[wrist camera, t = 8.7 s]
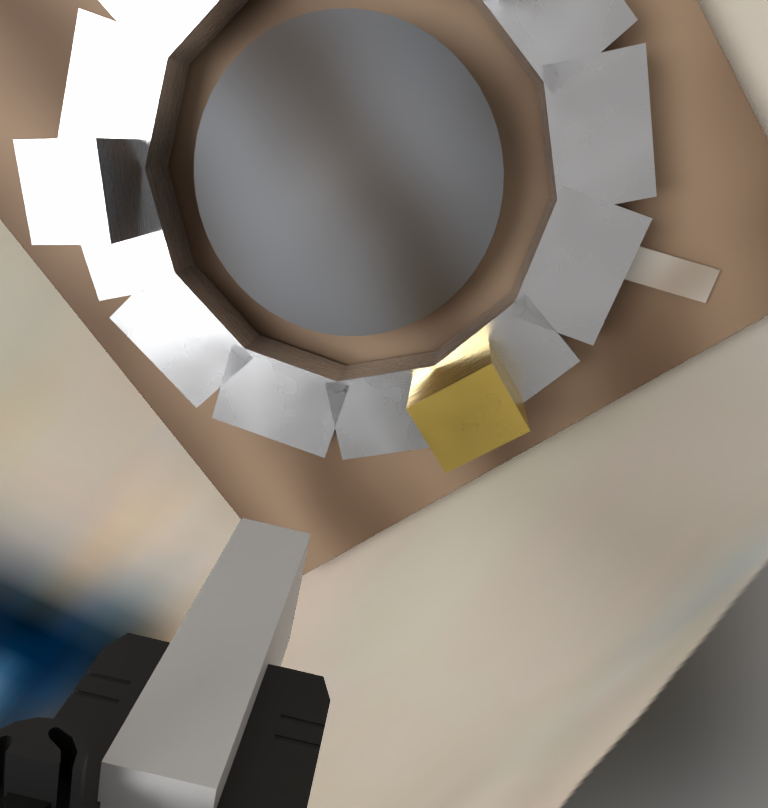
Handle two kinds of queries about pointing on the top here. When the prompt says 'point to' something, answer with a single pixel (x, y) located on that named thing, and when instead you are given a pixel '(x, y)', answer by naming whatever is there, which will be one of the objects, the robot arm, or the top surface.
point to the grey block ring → (300, 370)
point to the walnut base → (607, 369)
